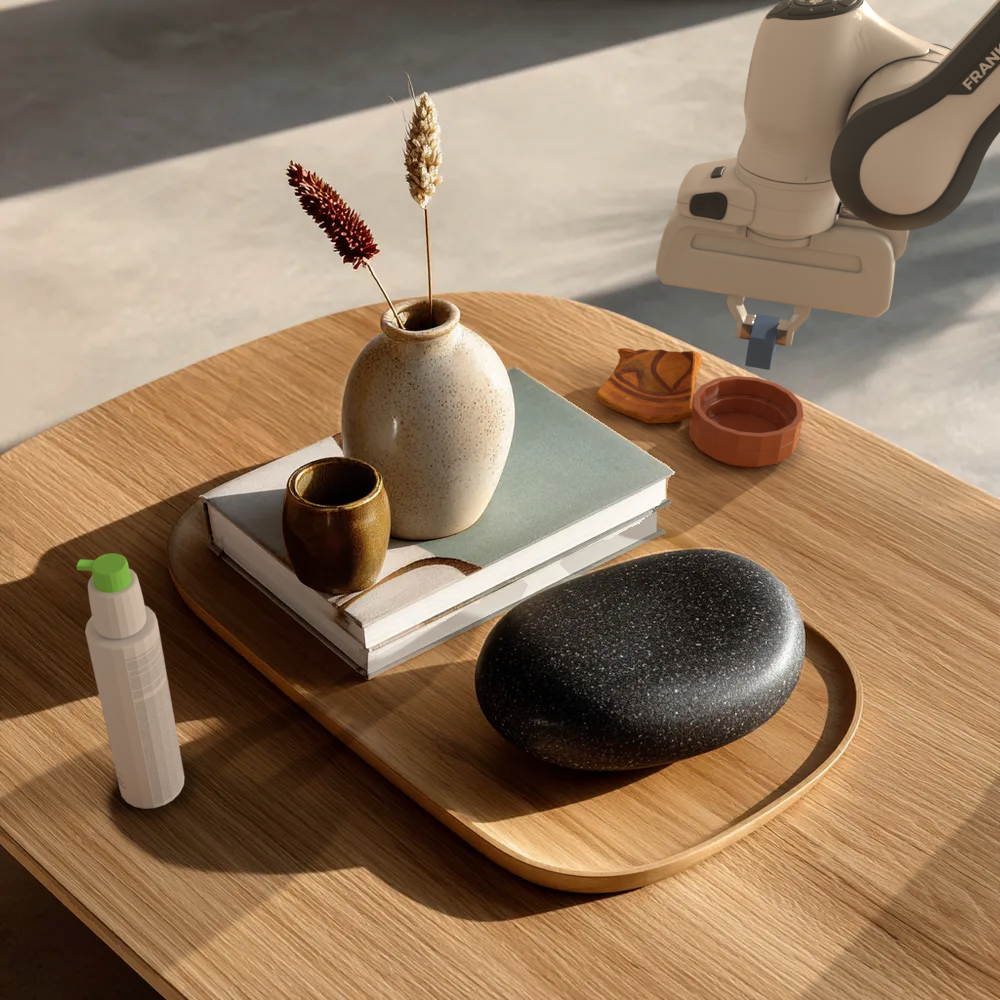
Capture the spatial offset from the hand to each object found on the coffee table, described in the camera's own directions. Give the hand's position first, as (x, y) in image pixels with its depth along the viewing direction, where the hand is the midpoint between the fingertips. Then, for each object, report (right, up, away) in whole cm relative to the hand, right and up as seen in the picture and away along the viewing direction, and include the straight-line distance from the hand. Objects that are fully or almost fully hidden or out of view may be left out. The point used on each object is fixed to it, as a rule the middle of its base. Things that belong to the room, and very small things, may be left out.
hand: (763, 339), depth 119 cm
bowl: (0, -9, +8) cm, 12 cm away
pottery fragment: (-9, -4, +14) cm, 17 cm away
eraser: (0, -1, +1) cm, 2 cm away
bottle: (-48, -34, -27) cm, 65 cm away
